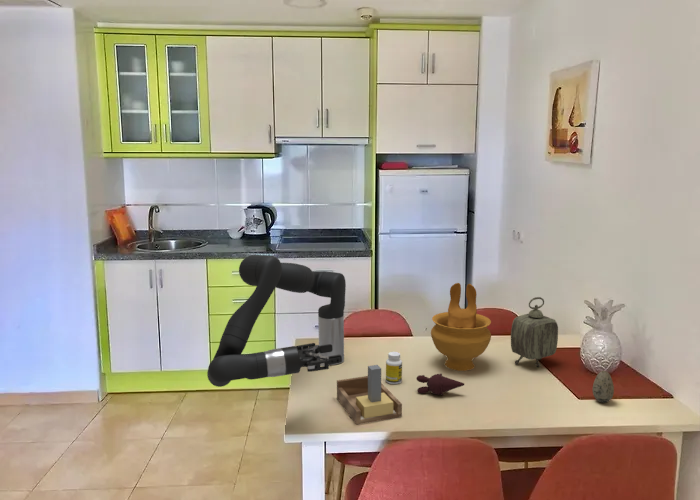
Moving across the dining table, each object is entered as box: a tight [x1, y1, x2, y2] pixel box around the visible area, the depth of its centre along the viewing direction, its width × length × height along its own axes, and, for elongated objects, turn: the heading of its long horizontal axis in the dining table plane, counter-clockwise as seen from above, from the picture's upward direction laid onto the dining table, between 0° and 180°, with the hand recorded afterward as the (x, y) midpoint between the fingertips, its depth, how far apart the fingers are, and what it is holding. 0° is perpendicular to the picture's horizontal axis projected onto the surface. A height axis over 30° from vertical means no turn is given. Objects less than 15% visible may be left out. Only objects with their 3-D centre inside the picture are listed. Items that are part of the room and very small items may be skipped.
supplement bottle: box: [385, 351, 403, 385], centre depth 190 cm, size 5×5×10 cm
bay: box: [336, 375, 403, 425], centre depth 171 cm, size 18×14×6 cm
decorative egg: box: [592, 370, 615, 404], centre depth 174 cm, size 6×6×10 cm
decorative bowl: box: [430, 282, 492, 372], centre depth 202 cm, size 21×21×30 cm
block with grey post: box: [356, 364, 393, 418], centre depth 166 cm, size 7×9×14 cm
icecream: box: [416, 373, 465, 396], centre depth 180 cm, size 7×7×15 cm
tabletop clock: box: [510, 296, 559, 368], centre depth 202 cm, size 14×9×25 cm, turn 115°
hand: (336, 352), depth 163 cm, fingers open, 8 cm apart
